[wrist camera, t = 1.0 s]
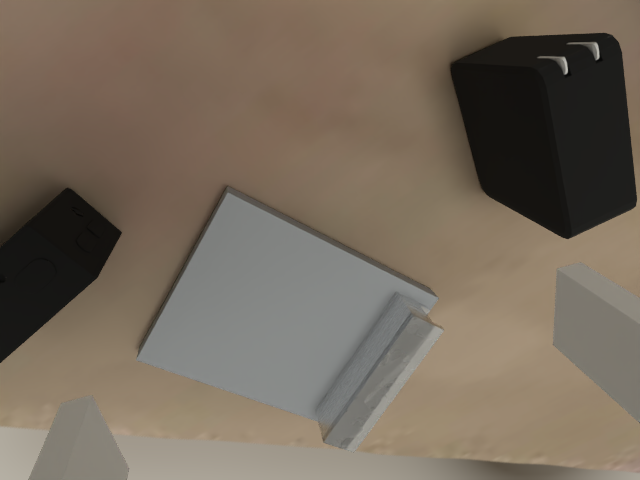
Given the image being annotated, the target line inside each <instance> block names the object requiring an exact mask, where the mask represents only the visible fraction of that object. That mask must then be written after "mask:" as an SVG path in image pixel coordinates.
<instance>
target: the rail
mask: <svg viewBox="0 0 640 480" xmlns="http://www.w3.org/2000/svg"><path fill="white" fill-rule="evenodd" d="M428 312H429V309H428V307H427V306H425V305H423V304H421V303H419V302H417V301H415V300H413V299H411V298H409V297H407V296H405V295H403V294H401V293H399V292H397V291H396V293H395V294H394V296H393V297H392V298H391V300H390V301H389V303H388V304H387V306H386V307H385V309H384V310H383V312H382V313H381V314H380V316H379V317H378V319H377V320H376V322H375V323H374V325H373V326H372V328H371V329H370V330H369V332H368V333H367V335H366V336H365V338H364V339H363V341H362V342H361V344H360V345H359V346H358V348H357V349H356V351H355V352H354V354H353V355H352V357H351V358H350V360H349V361H348V362H347V364H346V365H345V367H344V368H343V370H342V371H341V373H340V374H339V376H338V377H337V378H336V380H335V381H334V383H333V384H332V386H331V387H330V389H329V390H328V392H327V393H326V394H325V396H324V397H323V399H322V400H321V402H320V403H319V405H318V406H317V408H316V409H315V411H316V415H317V419H318V423H319V427H320V431H321V434H322V438H323V442H324V443H326V444H329V445H332V446H335V447H338V448H342V449H345V450H348V451H351V452H355V451H356V449H357V448H358V447H359V445H360V444H361V443H362V441H363V440H364V438H365V437H366V436H367V434H368V433H369V432H370V430H371V429H372V428H373V426H374V425H375V424H376V422H377V421H378V419H379V418H380V417H381V415H382V414H383V413H384V411H385V410H386V409H387V407H388V406H389V404H390V403H391V402H392V400H393V399H394V398H395V396H396V395H397V394H398V392H399V391H400V390H401V388H402V387H403V385H404V384H405V383H406V381H407V380H408V379H409V377H410V376H411V375H412V373H413V372H414V371H415V369H416V368H417V366H418V365H419V364H420V362H421V361H422V360H423V358H424V357H425V356H426V354H427V353H428V351H429V350H430V349H431V347H432V346H433V345H434V343H435V342H436V341H437V339H438V338H439V337H440V335H441V334H442V332H443V331H444V329H443V328H442V327H441V326H439V325H437V324H435V323H433V322H432V321H431V319H430V318H429V317H428V315H427V313H428Z"/></svg>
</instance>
